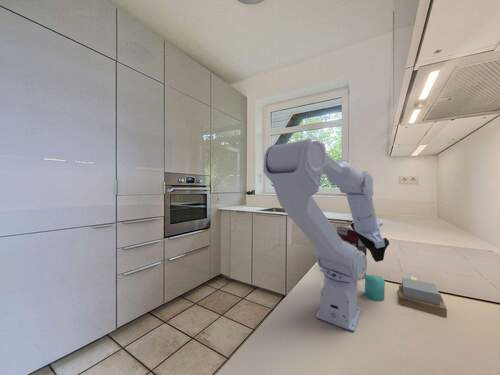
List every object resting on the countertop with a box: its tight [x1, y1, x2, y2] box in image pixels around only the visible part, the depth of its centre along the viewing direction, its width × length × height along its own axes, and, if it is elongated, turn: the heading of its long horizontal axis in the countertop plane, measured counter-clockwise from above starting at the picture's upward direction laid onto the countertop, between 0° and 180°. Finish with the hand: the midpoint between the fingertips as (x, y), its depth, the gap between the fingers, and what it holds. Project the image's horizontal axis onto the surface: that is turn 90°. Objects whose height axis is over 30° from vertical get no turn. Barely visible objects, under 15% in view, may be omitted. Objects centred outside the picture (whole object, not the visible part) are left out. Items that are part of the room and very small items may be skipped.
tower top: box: [401, 277, 441, 305], centre depth 55 cm, size 7×7×2 cm
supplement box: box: [336, 225, 368, 280], centre depth 72 cm, size 9×5×16 cm, turn 25°
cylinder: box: [364, 274, 386, 302], centre depth 57 cm, size 5×5×5 cm
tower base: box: [398, 283, 448, 318], centre depth 55 cm, size 9×9×2 cm
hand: (372, 251), depth 61 cm, fingers open, 7 cm apart
